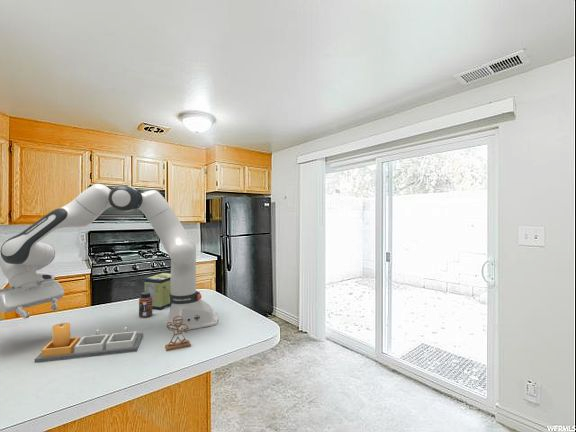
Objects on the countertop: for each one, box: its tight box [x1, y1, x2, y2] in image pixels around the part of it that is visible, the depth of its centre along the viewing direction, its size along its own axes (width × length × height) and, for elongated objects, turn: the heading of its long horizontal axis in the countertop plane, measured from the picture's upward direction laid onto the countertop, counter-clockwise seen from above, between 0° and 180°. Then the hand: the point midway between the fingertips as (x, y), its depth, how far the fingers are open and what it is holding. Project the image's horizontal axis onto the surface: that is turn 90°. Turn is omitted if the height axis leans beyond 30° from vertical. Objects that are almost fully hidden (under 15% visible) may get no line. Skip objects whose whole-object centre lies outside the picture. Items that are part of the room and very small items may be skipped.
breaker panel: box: [33, 326, 144, 364], centre depth 118 cm, size 32×14×5 cm, turn 106°
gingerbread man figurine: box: [164, 316, 191, 352], centre depth 119 cm, size 9×4×12 cm, turn 118°
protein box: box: [144, 272, 171, 311], centre depth 168 cm, size 10×16×16 cm
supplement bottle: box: [138, 291, 153, 318], centre depth 151 cm, size 6×6×11 cm
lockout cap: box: [51, 322, 71, 348], centre depth 113 cm, size 5×5×9 cm
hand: (41, 313), depth 118 cm, fingers open, 8 cm apart
